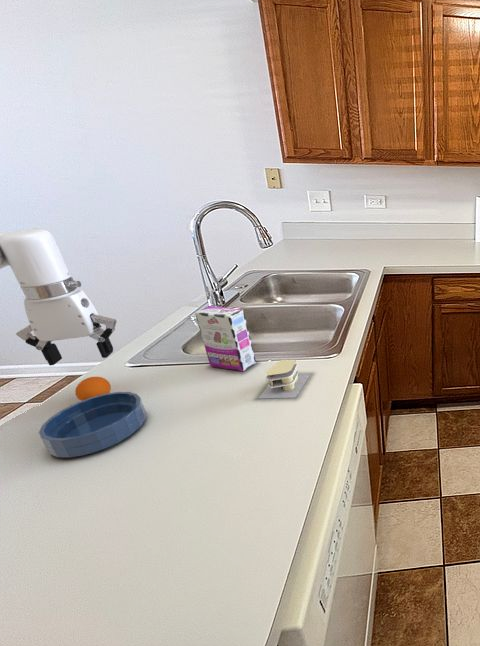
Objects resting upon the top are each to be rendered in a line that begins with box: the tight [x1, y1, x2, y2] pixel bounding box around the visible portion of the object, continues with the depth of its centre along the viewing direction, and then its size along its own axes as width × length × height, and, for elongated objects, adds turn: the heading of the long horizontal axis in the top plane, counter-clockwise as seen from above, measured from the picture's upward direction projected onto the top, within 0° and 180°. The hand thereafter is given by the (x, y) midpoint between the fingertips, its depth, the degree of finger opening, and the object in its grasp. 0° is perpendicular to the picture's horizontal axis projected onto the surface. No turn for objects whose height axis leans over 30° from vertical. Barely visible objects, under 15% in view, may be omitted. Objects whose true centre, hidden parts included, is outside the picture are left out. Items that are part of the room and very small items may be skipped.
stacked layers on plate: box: [258, 359, 311, 399], centre depth 99 cm, size 10×9×6 cm
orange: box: [74, 376, 112, 401], centre depth 93 cm, size 6×6×6 cm
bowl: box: [38, 391, 147, 458], centre depth 83 cm, size 15×15×5 cm
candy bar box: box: [194, 305, 257, 372], centre depth 106 cm, size 11×5×16 cm, turn 76°
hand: (82, 358), depth 90 cm, fingers open, 9 cm apart
